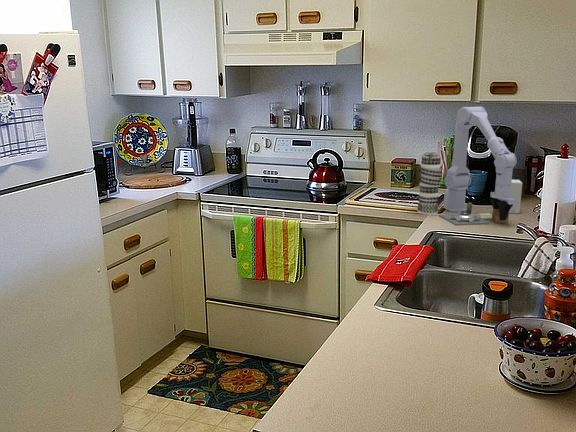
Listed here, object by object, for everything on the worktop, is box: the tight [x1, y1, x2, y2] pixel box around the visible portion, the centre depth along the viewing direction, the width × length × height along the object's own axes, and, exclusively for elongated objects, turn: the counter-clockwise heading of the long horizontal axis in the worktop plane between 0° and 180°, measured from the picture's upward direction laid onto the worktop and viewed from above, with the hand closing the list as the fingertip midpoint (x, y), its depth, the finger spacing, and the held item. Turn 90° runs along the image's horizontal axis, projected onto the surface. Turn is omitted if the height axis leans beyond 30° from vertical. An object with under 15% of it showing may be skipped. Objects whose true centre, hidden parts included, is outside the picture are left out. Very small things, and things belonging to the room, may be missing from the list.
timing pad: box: [479, 212, 492, 221], centre depth 249 cm, size 8×7×1 cm
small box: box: [509, 179, 524, 214], centre depth 259 cm, size 8×6×13 cm
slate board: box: [438, 213, 490, 226], centre depth 244 cm, size 15×14×1 cm
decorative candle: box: [417, 151, 443, 216], centre depth 253 cm, size 9×9×25 cm
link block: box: [491, 208, 510, 225], centre depth 241 cm, size 4×5×5 cm
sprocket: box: [448, 202, 481, 222], centre depth 243 cm, size 12×12×5 cm
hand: (500, 218), depth 241 cm, fingers closed on link block, 3 cm apart
